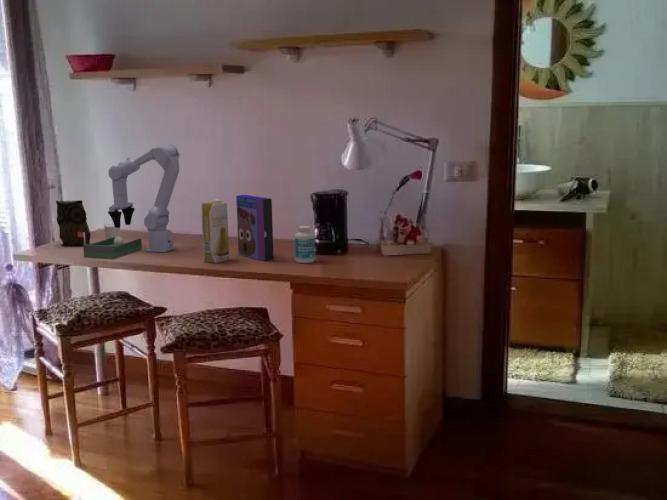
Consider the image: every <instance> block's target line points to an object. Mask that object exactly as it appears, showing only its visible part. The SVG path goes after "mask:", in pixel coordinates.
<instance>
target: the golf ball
mask: <svg viewBox="0 0 667 500" xmlns="http://www.w3.org/2000/svg"><path fill="white" fill-rule="evenodd" d="M124 241H125V240H124V238H123V237H121V236H120V237H116V238H115V239H114V244H115V245H116V246H117V245H121V244H124V243H125V242H124Z"/></svg>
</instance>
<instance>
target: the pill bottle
mask: <svg viewBox="0 0 667 500" xmlns="http://www.w3.org/2000/svg"><path fill="white" fill-rule="evenodd" d="M311 230H312V228H311V226H309V225H300V226H298V232H296V233H295V235H294V257H295V258H294V261H295V262H296V263H299V264H309V263H310V264H311V263H314V262H315V258H316V255H315V251H316V250H315V234H314V233H313V232H312V231H311Z"/></svg>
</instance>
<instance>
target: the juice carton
mask: <svg viewBox="0 0 667 500" xmlns="http://www.w3.org/2000/svg"><path fill="white" fill-rule="evenodd" d="M200 206H201V207H200V213H201V215H200V216H201V230H202V231H201V233H202V249H203V250H202V251H203V260H204V261H203V262H205V263H207V262H208V263H212V264H213V263H214V264H218V263H221V262H225V261H228V260H230V247H229V246H230V245H229V223H228V222H229V220H228V219H229V218H228V203H227V201H221V200H220V199H217V198H216V199H213V201H210V202H202V203H201V204H200Z"/></svg>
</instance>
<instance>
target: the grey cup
mask: <svg viewBox="0 0 667 500" xmlns="http://www.w3.org/2000/svg"><path fill="white" fill-rule="evenodd" d="M103 229H104V234H105V240H106V239H109V238H112V237H115V238H116V237H121V236H120V235H121V227H120V228H115V226H114V224H107V225H104V226H103Z"/></svg>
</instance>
